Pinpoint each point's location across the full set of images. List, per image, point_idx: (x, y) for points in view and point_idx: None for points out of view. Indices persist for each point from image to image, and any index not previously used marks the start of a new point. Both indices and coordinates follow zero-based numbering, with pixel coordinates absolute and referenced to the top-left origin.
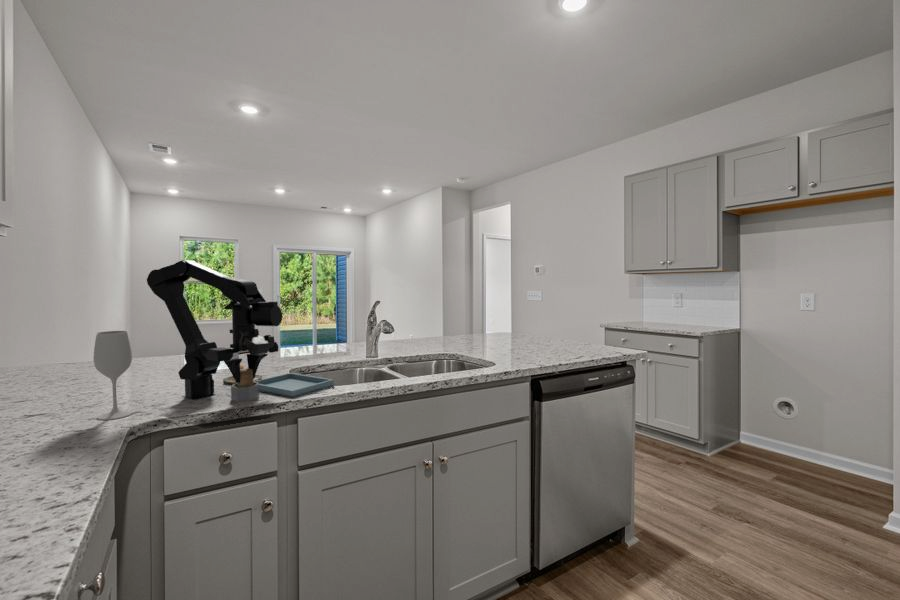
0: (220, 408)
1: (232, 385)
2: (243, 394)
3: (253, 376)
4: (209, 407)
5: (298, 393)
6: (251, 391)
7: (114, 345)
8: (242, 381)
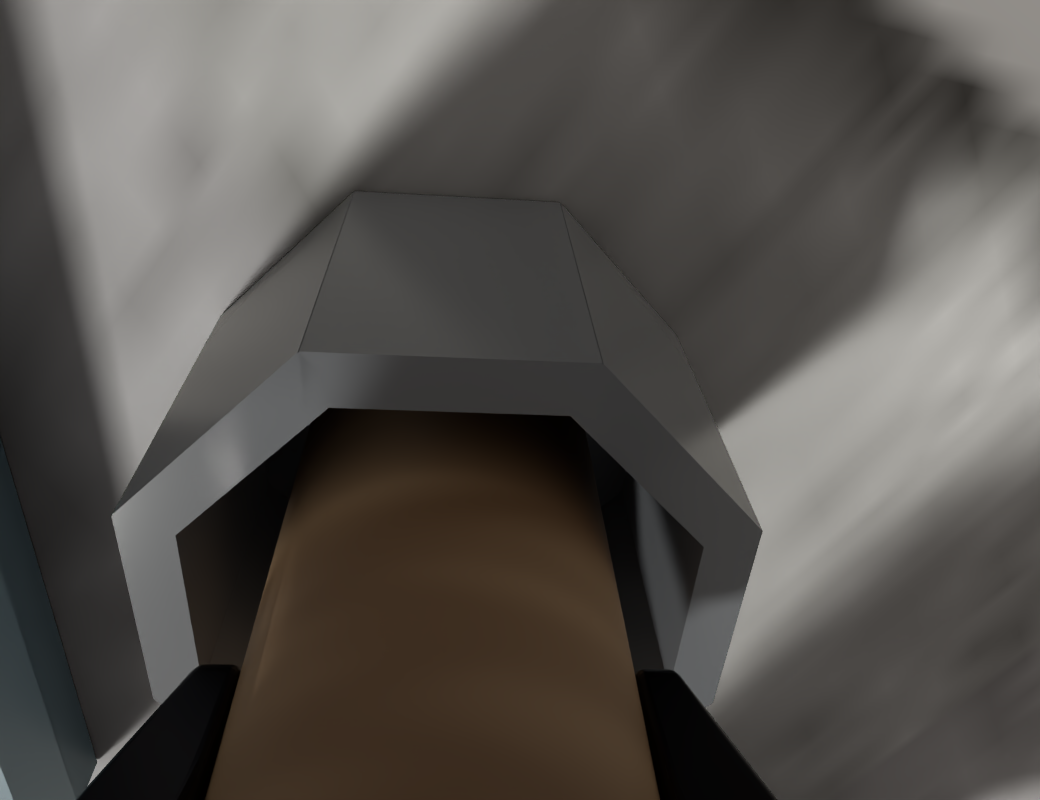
0: (966, 363)
1: None
2: (646, 352)
3: (192, 725)
4: (950, 528)
5: None
6: (500, 296)
7: None
8: (613, 639)
